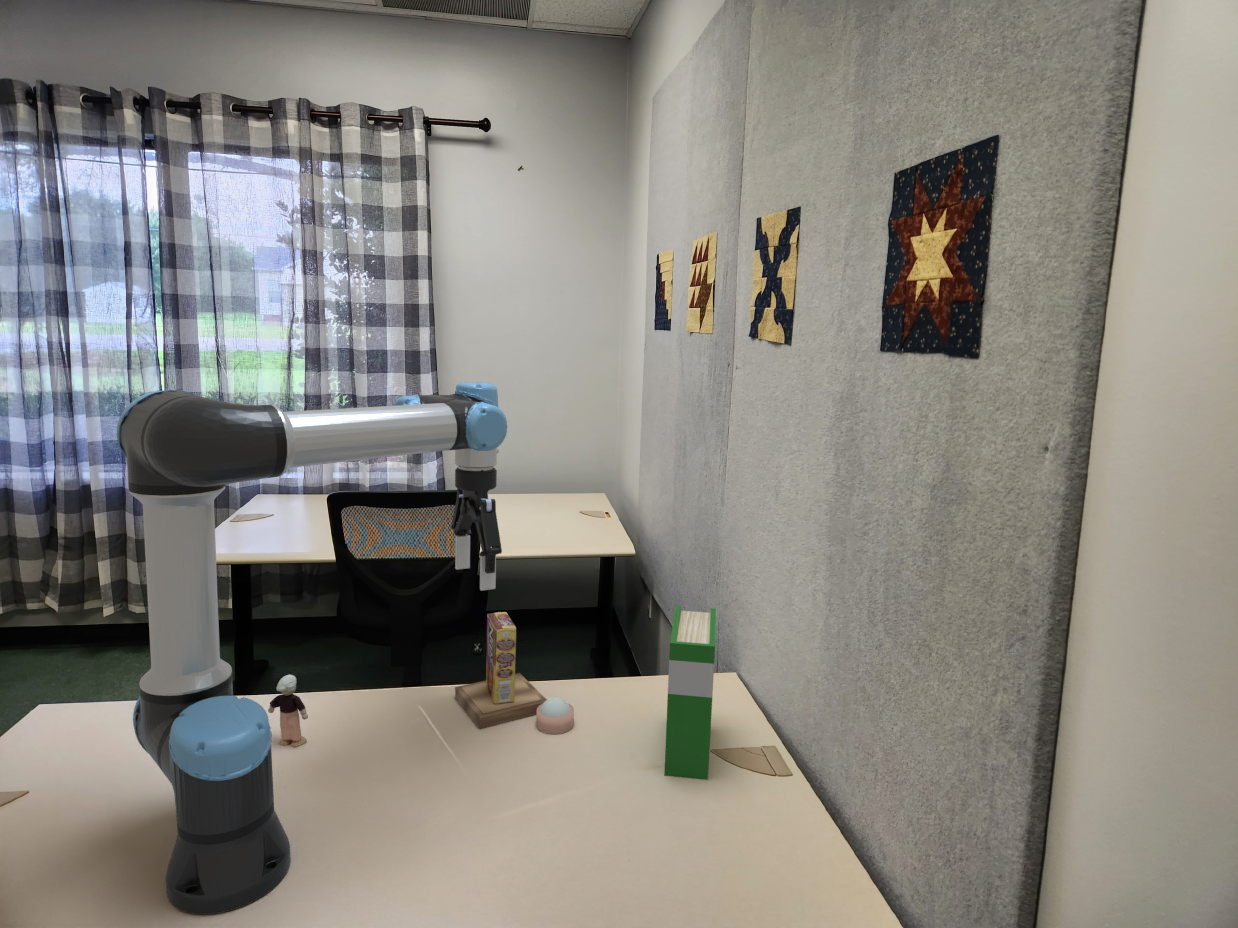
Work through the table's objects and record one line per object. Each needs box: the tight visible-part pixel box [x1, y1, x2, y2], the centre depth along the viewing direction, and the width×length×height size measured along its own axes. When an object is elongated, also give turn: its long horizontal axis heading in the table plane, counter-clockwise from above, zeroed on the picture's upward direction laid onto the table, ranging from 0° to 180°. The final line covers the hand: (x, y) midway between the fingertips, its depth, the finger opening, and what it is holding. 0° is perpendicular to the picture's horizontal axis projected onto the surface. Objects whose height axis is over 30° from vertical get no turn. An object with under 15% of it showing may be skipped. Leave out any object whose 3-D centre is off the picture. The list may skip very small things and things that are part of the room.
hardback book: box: [664, 605, 717, 781], centre depth 137 cm, size 18×7×24 cm, turn 173°
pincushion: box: [535, 696, 575, 735], centre depth 144 cm, size 7×7×6 cm
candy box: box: [485, 611, 517, 704], centre depth 150 cm, size 9×4×15 cm, turn 20°
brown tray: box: [454, 672, 548, 730], centre depth 152 cm, size 14×14×3 cm
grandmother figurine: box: [267, 674, 309, 748], centre depth 137 cm, size 8×4×13 cm, turn 89°
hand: (474, 578), depth 144 cm, fingers open, 13 cm apart
